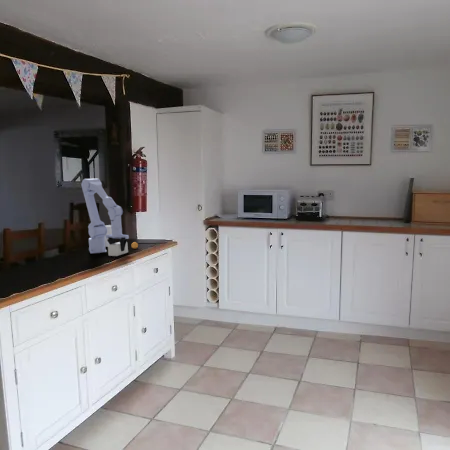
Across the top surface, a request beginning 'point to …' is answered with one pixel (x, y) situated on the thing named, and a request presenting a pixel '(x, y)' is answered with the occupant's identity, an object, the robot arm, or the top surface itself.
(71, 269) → the top surface
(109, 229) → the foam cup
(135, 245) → the ball
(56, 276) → the top surface
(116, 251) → the white rectangular block
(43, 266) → the top surface
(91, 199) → the robot arm
